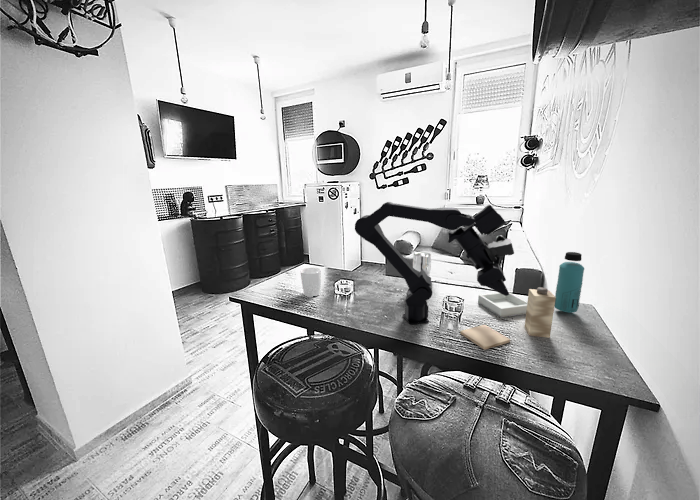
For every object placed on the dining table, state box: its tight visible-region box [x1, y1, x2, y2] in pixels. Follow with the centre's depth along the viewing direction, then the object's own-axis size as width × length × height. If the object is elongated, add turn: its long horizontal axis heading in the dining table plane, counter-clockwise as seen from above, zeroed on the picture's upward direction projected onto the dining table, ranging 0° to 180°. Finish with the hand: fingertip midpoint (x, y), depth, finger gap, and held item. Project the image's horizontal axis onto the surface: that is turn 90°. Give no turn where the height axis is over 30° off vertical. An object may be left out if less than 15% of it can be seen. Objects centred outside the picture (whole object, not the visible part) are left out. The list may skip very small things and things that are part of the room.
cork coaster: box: [459, 324, 511, 351], centre depth 81 cm, size 9×9×1 cm
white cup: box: [300, 267, 322, 298], centre depth 115 cm, size 8×8×10 cm
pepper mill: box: [524, 286, 556, 339], centre depth 81 cm, size 5×5×13 cm
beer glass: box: [412, 251, 432, 277], centre depth 114 cm, size 7×7×15 cm
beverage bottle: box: [554, 251, 585, 314], centre depth 91 cm, size 6×7×20 cm
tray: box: [477, 292, 528, 318], centre depth 98 cm, size 12×12×3 cm
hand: (506, 287), depth 83 cm, fingers open, 9 cm apart
